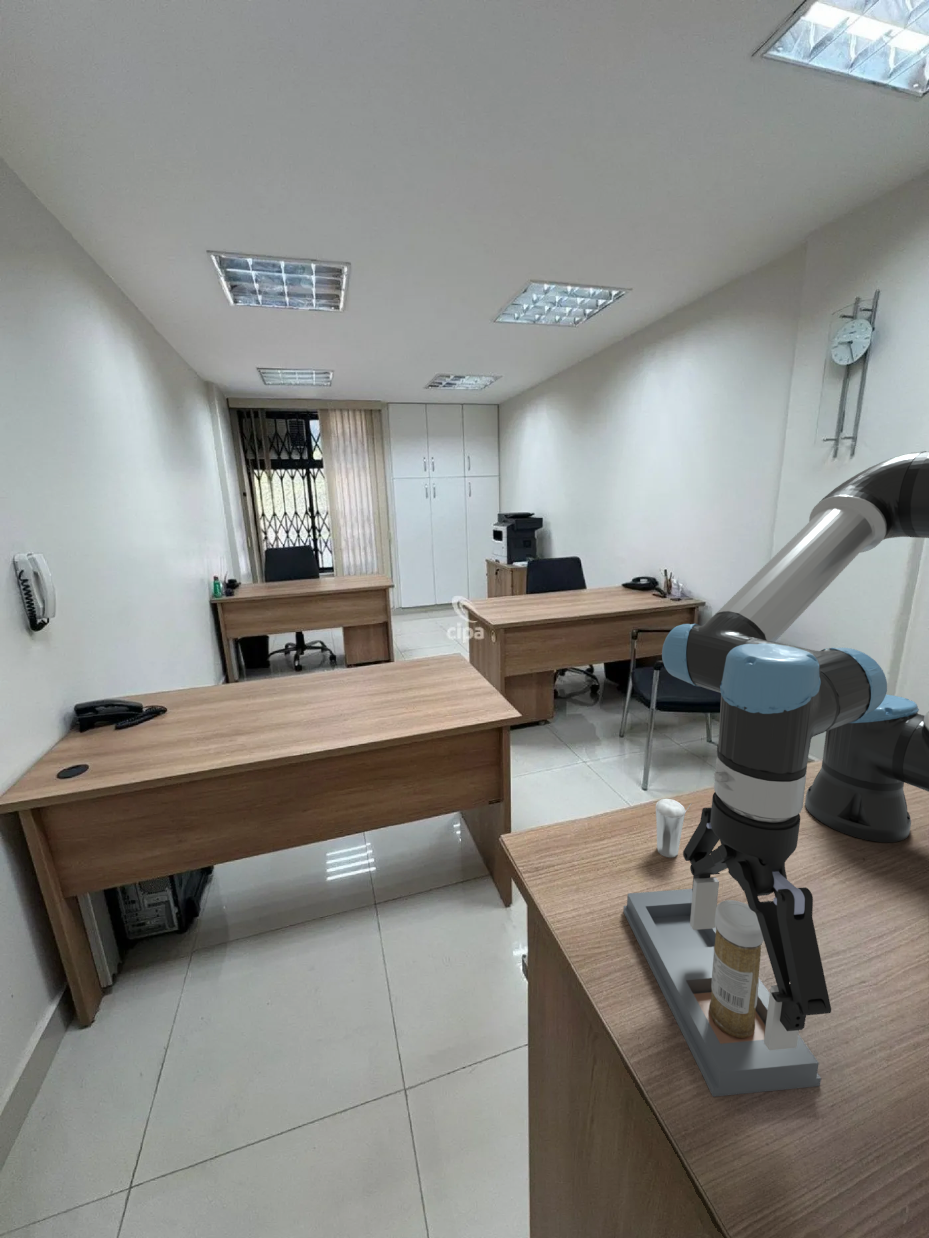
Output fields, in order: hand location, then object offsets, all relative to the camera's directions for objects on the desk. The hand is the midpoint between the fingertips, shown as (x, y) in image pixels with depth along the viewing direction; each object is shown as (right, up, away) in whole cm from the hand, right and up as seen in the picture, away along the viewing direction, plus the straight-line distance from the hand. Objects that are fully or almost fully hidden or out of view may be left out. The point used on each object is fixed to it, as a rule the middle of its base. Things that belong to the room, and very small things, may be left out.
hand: (736, 978), depth 53 cm
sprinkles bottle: (0, -6, +1) cm, 6 cm away
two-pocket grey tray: (0, -5, +7) cm, 9 cm away
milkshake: (+5, -1, +30) cm, 30 cm away
